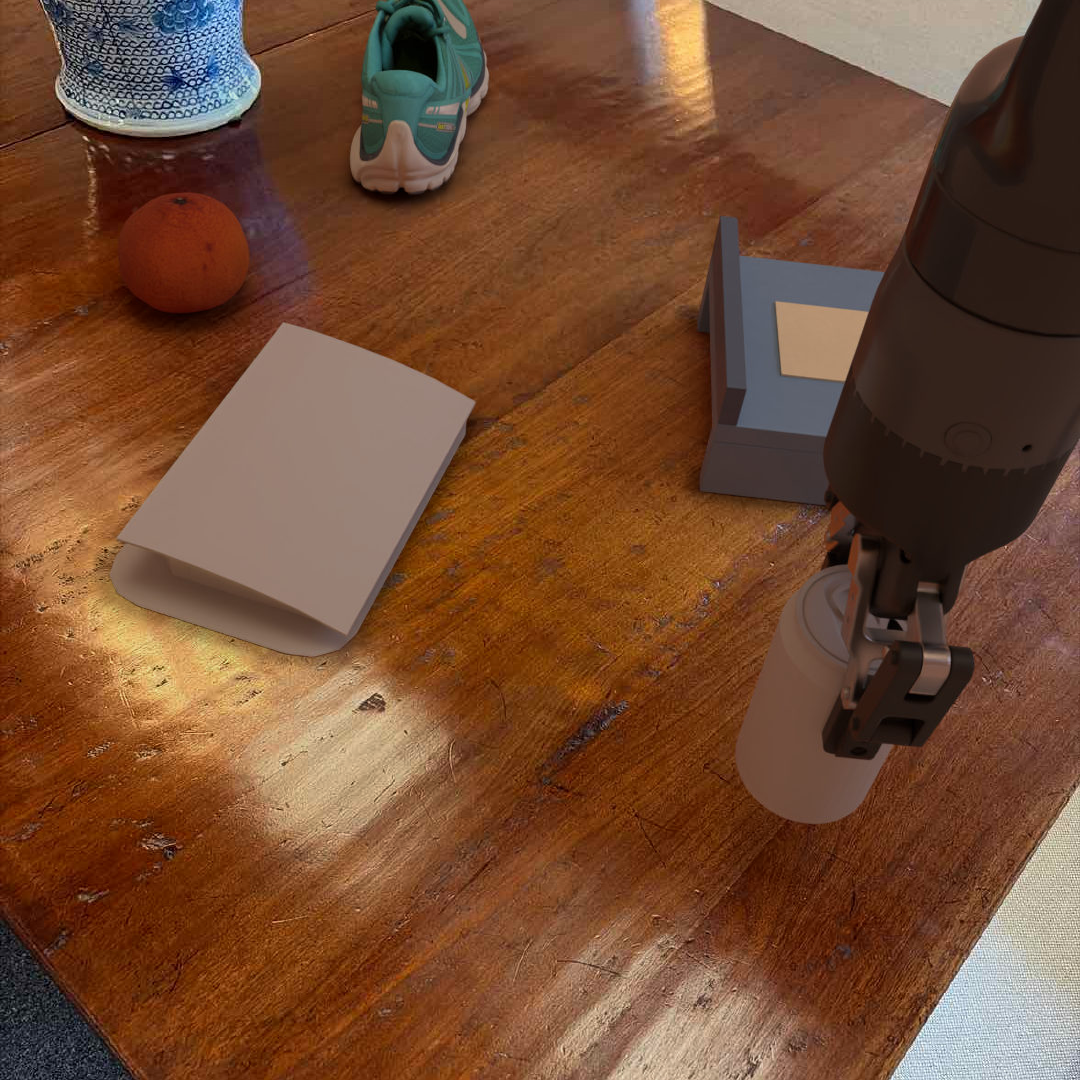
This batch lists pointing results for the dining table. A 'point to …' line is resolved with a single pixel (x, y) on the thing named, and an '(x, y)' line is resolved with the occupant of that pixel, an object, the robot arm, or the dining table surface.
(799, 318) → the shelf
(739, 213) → the dining table surface
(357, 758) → the dining table surface
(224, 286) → the fruit
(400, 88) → the running shoe
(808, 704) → the beverage can
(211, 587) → the book
